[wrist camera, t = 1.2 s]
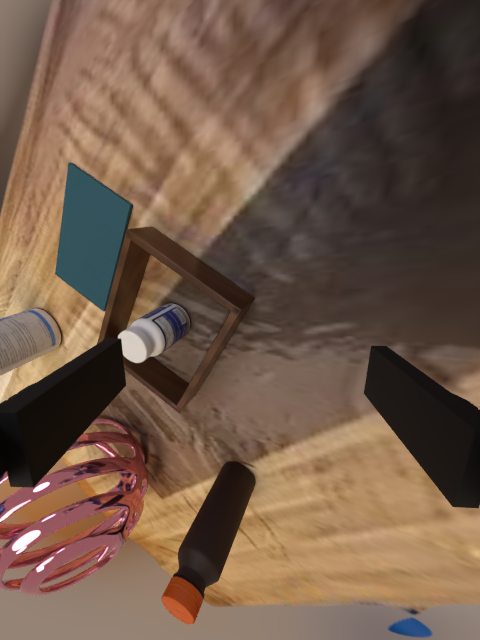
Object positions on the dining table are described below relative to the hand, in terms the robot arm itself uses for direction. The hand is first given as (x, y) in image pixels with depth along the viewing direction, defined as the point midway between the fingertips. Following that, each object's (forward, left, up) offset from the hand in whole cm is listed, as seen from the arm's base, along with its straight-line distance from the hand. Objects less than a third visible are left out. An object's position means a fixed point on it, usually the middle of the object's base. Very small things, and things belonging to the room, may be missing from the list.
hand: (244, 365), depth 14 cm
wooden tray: (+17, -13, -21) cm, 31 cm away
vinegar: (+38, +11, -22) cm, 45 cm away
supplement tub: (+40, -39, -22) cm, 60 cm away
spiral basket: (+56, -11, -22) cm, 61 cm away
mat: (+15, -32, -21) cm, 42 cm away
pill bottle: (+17, -13, -22) cm, 31 cm away
